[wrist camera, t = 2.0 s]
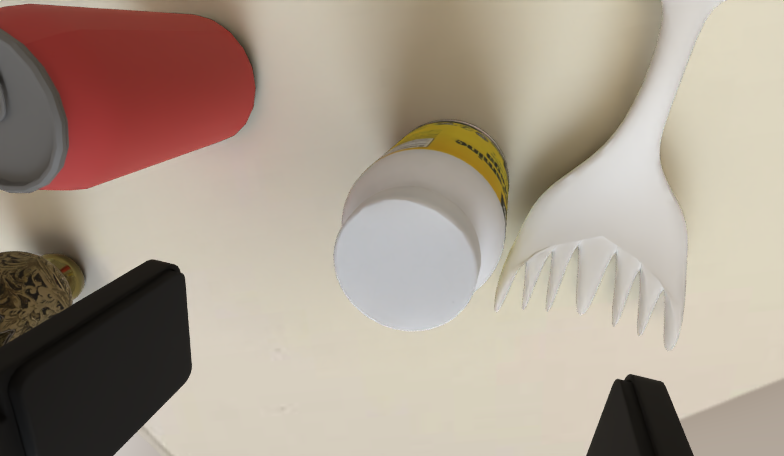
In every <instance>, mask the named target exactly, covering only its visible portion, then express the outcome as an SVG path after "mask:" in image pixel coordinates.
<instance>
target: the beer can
mask: <svg viewBox="0 0 784 456" xmlns="http://www.w3.org/2000/svg"><path fill="white" fill-rule="evenodd" d="M255 89H256V87H255V81H254V75H253V69H252V66H251V64H250V62H249V60H248V57H247V55H246V53H245V51H244V49H243V48H242V46H241V45H240V44H239V43H238V41H237V40H236V39H235V38H234V36H233V35H232V34H231V33H230V32H229V31H228V30H226V29H225V28H224V27H222V26H221V25H219V24H218V23H216V22H215V21H213V20H211V19H208V18H204V17H201V16H198V15H193V14H177V13H162V12H147V11H132V10H116V9H101V8H86V7H71V6H55V5H40V4H24V5H15V6H6V7H1V8H0V189H1V190H3V191H6V192H9V193H31V192H34V191H36V190H38V189H39V190H78V189H88V188H90V187H93V186H96V185H99V184H102V183H104V182H107V181H110V180H113V179H116V178H119V177H121V176H124V175H127V174H130V173H133V172H135V171H138V170H141V169H144V168H147V167H149V166H152V165H155V164H158V163H161V162H164V161H166V160H169V159H172V158H175V157H178V156H180V155H183V154H186V153H189V152H192V151H194V150H197V149H200V148H203V147H206V146H209V145H211V144H214V143H217V142H220V141H222V140H225V139H227V138H229V137H232V136H234V135H235V134H236V133H237V132H238V131H239V130H240V129H241V128H242V127H243V126H244V125H245V124H246V122H247V120H248V118H249V116H250V113H251V111H252V109H253V106H254V98H255Z"/></svg>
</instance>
